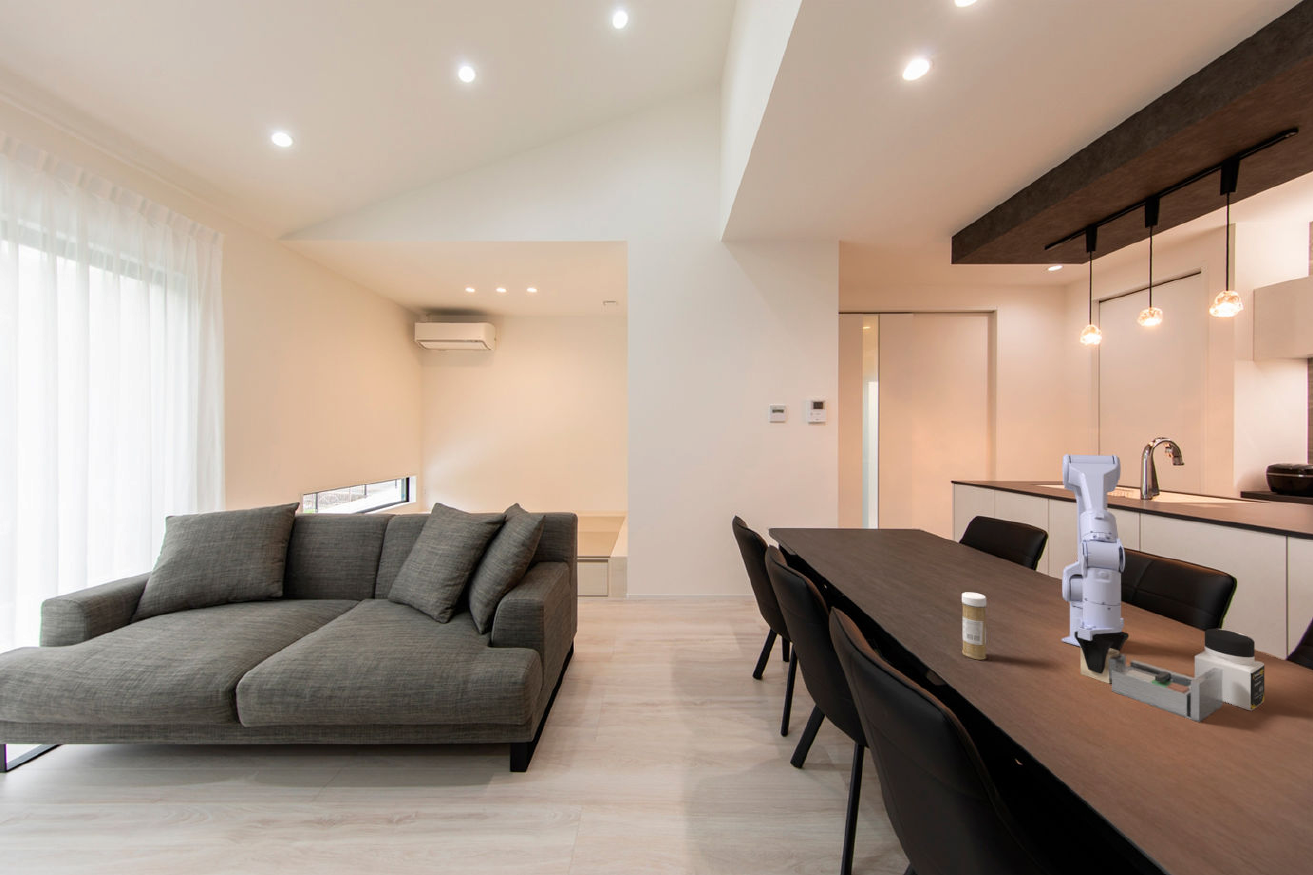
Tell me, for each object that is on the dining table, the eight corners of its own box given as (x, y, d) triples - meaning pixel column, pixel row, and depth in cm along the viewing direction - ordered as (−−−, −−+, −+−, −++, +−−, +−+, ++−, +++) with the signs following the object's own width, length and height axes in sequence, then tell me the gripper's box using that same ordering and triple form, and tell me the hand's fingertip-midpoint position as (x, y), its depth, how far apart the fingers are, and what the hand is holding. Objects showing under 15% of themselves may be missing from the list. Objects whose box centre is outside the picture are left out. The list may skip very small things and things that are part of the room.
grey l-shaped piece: (1119, 673, 98) (1119, 651, 98) (1178, 692, 91) (1178, 668, 91) (1101, 681, 95) (1101, 659, 95) (1161, 702, 87) (1161, 677, 87)
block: (1091, 668, 102) (1091, 642, 102) (1119, 678, 98) (1119, 650, 98) (1080, 673, 100) (1080, 646, 100) (1108, 683, 96) (1108, 655, 96)
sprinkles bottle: (990, 657, 108) (990, 595, 108) (980, 662, 105) (980, 599, 105) (967, 649, 112) (967, 590, 112) (957, 654, 109) (957, 593, 109)
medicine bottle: (1252, 711, 86) (1252, 643, 86) (1194, 693, 93) (1193, 629, 93) (1265, 701, 90) (1265, 635, 90) (1208, 684, 96) (1208, 622, 96)
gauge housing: (1137, 678, 98) (1137, 645, 98) (1222, 705, 88) (1222, 669, 88) (1111, 691, 93) (1111, 656, 93) (1199, 722, 83) (1199, 683, 83)
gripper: (1093, 590, 106) (1093, 653, 106) (1059, 600, 99) (1059, 667, 99) (1137, 599, 100) (1137, 667, 100) (1103, 611, 93) (1103, 683, 93)
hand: (1101, 668), depth 99 cm, fingers closed on block, 4 cm apart
